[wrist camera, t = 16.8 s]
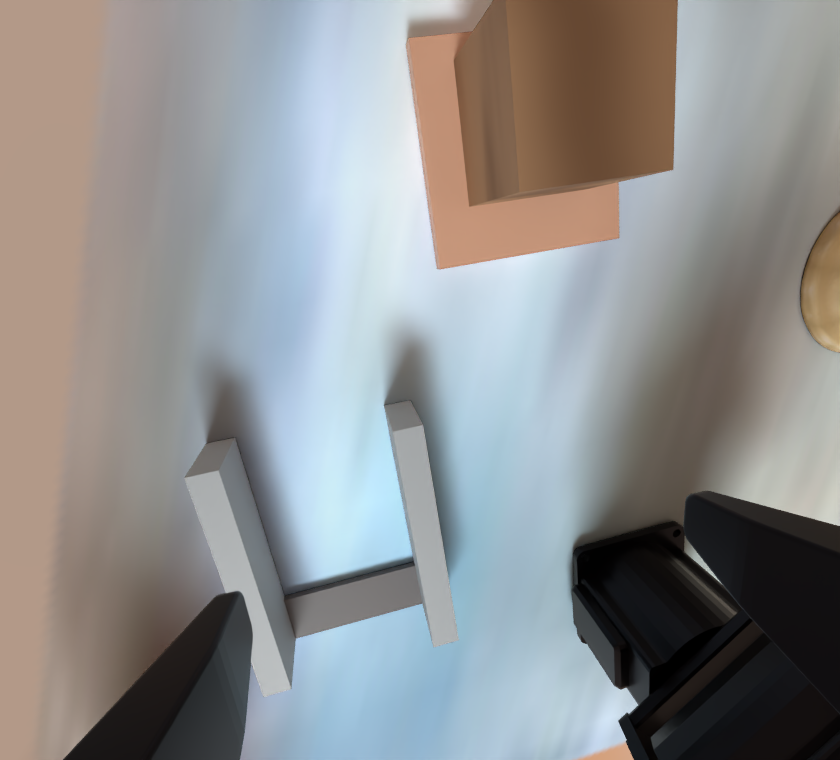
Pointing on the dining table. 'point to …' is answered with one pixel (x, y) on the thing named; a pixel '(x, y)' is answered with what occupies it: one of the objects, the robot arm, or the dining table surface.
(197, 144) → the dining table surface
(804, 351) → the dining table surface
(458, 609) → the dining table surface
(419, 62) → the coaster
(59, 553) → the dining table surface
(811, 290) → the hand bell
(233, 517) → the channel
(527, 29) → the walnut block
